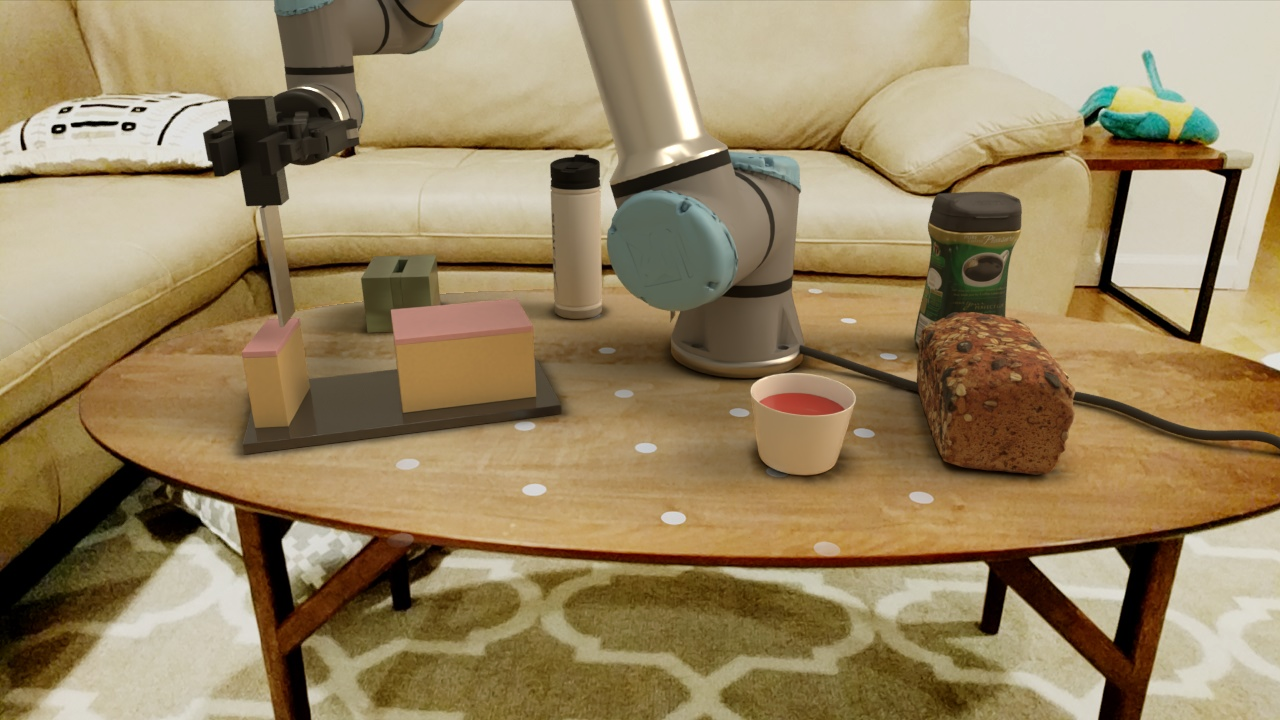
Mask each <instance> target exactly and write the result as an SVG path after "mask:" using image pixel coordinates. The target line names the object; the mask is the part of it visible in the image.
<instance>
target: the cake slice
mask: <svg viewBox="0 0 1280 720" xmlns="http://www.w3.org/2000/svg"><path fill="white" fill-rule="evenodd" d="M304 344H305V343H304V338H303V331H302V325H301V319H300V317H291V318H290V319H289V321H288V322H287V323H286V325H285V326H284V327H280V326H279V320H278V318H268V319H267V320H266V321H265V322H264V324H262V326H261V327H260V329H258V331H257V332H256V333H255V334H254V336H253V337H252V338H251V340H250V341H249V342H248V343H247V344H246V345H245V347H244V348H243V349H242V351H241V357H242V363H243V369H244V374H245V380H246V386H247V391H248V397H249V403H250V407H251V409H252V413H253V419H254V424H255V428H266V427H285V426H289V425H290V423H291V421H292V419H293V417H294V416H295V414H296V412H297V410H298V408H299V407H300V405H301V403H302V401H303V399H304V398H305V396H306V394H307V392H308V390H309V389H310V383H309V379H310V377H309V370H308V364H307V358H306V352H305V345H304Z"/></svg>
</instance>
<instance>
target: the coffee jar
mask: <svg viewBox="0 0 1280 720" xmlns="http://www.w3.org/2000/svg"><path fill="white" fill-rule="evenodd" d="M1022 208H1023V207H1022V203H1021V200H1020V198H1018V197H1017V196H1014V195H1012V194H1009V193H1006V192H1003V191H963V192H960V191H959V192H944V193H937V194H936V195H935V197H934V199H933V201H932V205H931V211H930V214H929V218H928V222H927V231H928V235H929V238H930V244H931V245H930V256H929V265H928V270H927V275H926V280H925V284H924V289H923V292H922V298H921V301H920V306H919V310H918V314H917V317H916V318H917V319H916V324H915V327H914V328H915V329H914V335H913V337H914V341H915V344H916V345H917V346H918V344H919V339H920V335H921V332H922V329H924V328H925V326H927V325H929V324H930V323H931V322H936V321H938V320H940V319H942V318H945V317H946V316H947V315H949V314H951V313H954V312H957V313H964V312H966V313H970V312H974V313H981V314H993V315H998V316H1002V317H1006V307H1007V305H1006V304H1007V292H1008V291H1007V290H1008V279H1009V267H1010V263H1011V257H1012V252H1013V251H1014V247H1015V246H1016V244H1017V242H1018V240H1019V238H1020V235H1021V232H1022V215H1023V209H1022Z"/></svg>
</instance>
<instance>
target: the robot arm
mask: <svg viewBox="0 0 1280 720" xmlns="http://www.w3.org/2000/svg"><path fill="white" fill-rule="evenodd" d="M464 1H465V0H273V4H274V6H273V8H274V9H273V12H274V13H275V18H276V22H277V23H276V24H277V28H278V33H279V40H280V45H281V46H280V47H281V52H282V57H283V64H284V67H283V68H284V77H285V84H286V91H282V92H279V93H277V94H276V95H273V99H274V105H275V111H276V118H277V124H278V130H279V132H276V133H274V134H272V135H270V136H268V137H266V138H264V139H262V140H260V141H258V142H257V147H258V153H259V159H260V165H261V171H262V176H270V175H273V174H275V173H276V172H278V171H279V170H281V169H282V168H285V167H287V166H288V165H295V166H311V165H312V166H313V165H316V164H318V163H321V162H322V161H325V160H327V159H330V158H332V157H334V156H336V155H337V154H339V153H341V152H344V151H345V150H346V149H348V148H354V147H355V148H356V147H358V146H360V145H361V142H360V134H359V133H360V130H361V128H362V125H363V123H364V119H365V106H364V102H363V99H362V97H361V96H360V94H359V92H357V84H356V77H355V65H354V57H358V56H376V55H380V56H381V55H398V54H399V55H414V54H417V53H419V52H420V53H421V52H426V51H428V50H430V49H432V48H433V47H435V46H436V45H437V44H438V43H439V41H440V37H441V34H442V33H443V29H444V20H445V19H446V18H447V17H448V16H449V15H450V14H451V13H452V12H454V11H455V10H456V9H457V8H458V7H459V6H460V5H461V4H463V2H464ZM570 1H571V5H572V8H573V11H574V14H575V19H576V20H577V21H576V22H577V24H578V28H579V31H580V34H581V35H580V36H581V37H582V41H583V44H584V48H585V51H586V54H587V58H588V60H589V64H590V68H591V70H592V74H593V77H594V80H595V84H596V87H597V91H598V94H599V98H600V101H601V104H602V107H603V112H604V113H605V117H606V121H607V124H608V128H609V132H610V134H611V137H612V140H613V144H614V148H615V151H616V154H617V158H618V159H617V160H618V161H617V165H616V166H615V169H614V171H613V173H612V175H611V177H610V179H609V182H608V183H609V186H610V188H611V192H612V196H613V201H614V203H615V207H616V211H615V212H614V214H613V216H612V218H611V223H610V224H611V225H610V227H609V228H608V229H607V234H606V250H607V255H608V259H609V262H610V266H611V267H612V269H613V272H614V274H615V276H616V277H617V278H618V281H620V283H621V284H622V286H623V287H624V288H625V289H626V290H627V291H628V292H629V293H630V294H631V295H632V296H634V297H635V298H636V299H639V300H641V301H642V302H644V303H645V304H647V305H648V306H650V307H652V308H655V309H658V310H661V311H665V312H666V311H667V312H670V313H669V314H670V315H669V316H670V320H669V323H672V321H673V319H675V316H676V312H679V313H678V316H677V318H676V321H675V324H674V327H673V330H672V332H671V336H670V353H671V356H672V358H673V359H674V360H675V361H676V362H677V363H679V364H680V365H683V366H684V367H686V368H687V369H690V370H693V371H696V372H699V373H702V374H705V375H709V376H715V377H722V378H723V377H724V378H735V379H754V378H764V377H767V376H771V375H776V374H784V373H788V372H789V371H791V370H793V369H795V368H796V367H798V366H800V364H801V363H802V362H803V359H804V356H806V357H810V358H813V359H816V360H820V361H823V362H825V363H828V364H832V365H833V366H838V367H841V368H844V369H846V370H849V371H852V372H855V373H858V374H861V375H864V376H866V377H870V378H873V379H876V380H878V381H879V380H880V381H883V382H886V383H888V384H890V385H894V386H897V387H900V388H903V389H906V390H908V391H909V390H910V391H913V392H916V393H919V390H918V383H917V381H913V380H910V379H907V378H904V377H900V376H897V375H895V374H892V373H889V372H885V371H882V370H880V369H876V368H873V367H870V366H867V365H864V364H860V363H858V362H854V361H852V360H850V359H846V358H844V357H841V356H838V355H834V354H832V353H828V352H825V351H822V350H819V349H815V348H811V347H809V346H806V345H805V338H804V335H803V331H802V328H801V323H800V320H799V316H798V312H797V308H796V303H795V300H794V296H793V279H794V278H793V277H794V266H795V253H796V242H797V241H796V240H797V228H798V215H799V203H800V194H801V193H802V186H801V168H800V165H799V162H798V161H797V160H796V159H794V158H793V157H791V156H786V155H777V154H767V153H755V152H742V151H729V147H728V145H727V144H725V143H724V142H722V141H720V140H719V139H717V138H715V137H713V136H712V135H710V134H709V132H708V131H707V130H706V127H705V123H704V119H703V115H702V112H701V109H700V105H699V101H698V98H697V94H696V90H695V86H694V84H693V80H692V76H691V73H690V69H689V65H688V62H687V57H686V54H685V51H684V47H683V44H682V40H681V36H680V33H679V30H678V29H679V28H678V26H677V25H678V24H677V22H676V18H675V14H674V11H673V7H672V4H671V0H570ZM202 135H203V136H202V137H203V141H204V142H203V143H204V149H205V152H206V157H207V158H206V159H207V162H210V163H211V165H212V170H213V175H214V176H213V177H214V178H219V177H220V178H222V177H223V178H224V177H227V176H228V175H230V174H232V173H234V172H235V171H240V168H239V162H238V157H237V151H236V145H235V139H234V134H233V129H232V123H231V120H228V119H221V120H219V121H217V125H215V126H213V127H212V128H209V129H207V130H206V131H203V132H202ZM1073 401H1074V402H1080V403H1085V404H1089V405H1094V406H1099V407H1102V408H1106V409H1109V410H1111V411H1112V410H1113V411H1116V412H1119V413H1120V414H1124V415H1126V416H1129V417H1130V418H1134V419H1136V420H1138V421H1141V422H1143V423H1145V424H1147V425H1149V426H1153V427H1154V428H1157V429H1160V430H1162V431H1166V432H1168V433H1171V434H1174V435H1177V436H1181V437H1185V438H1189V439H1193V440H1194V439H1195V440H1199V441H1212V442H1213V441H1214V442H1231V441H1233V442H1234V441H1235V442H1237V441H1239V442H1240V441H1244V442H1245V441H1247V442H1249V441H1250V442H1258V443H1259V442H1260V443H1265V444H1268V445H1271V446H1273V447H1275V448H1277V449H1278V450H1280V436H1278V435H1276V434H1274V433H1270V432H1266V431H1260V430H1249V429H1248V430H1247V429H1232V430H1227V429H1226V430H1213V429H1211V430H1210V429H1200V428H1199V429H1198V428H1193V427H1189V426H1186V425H1182V424H1179V423H1175V422H1173V421H1169V420H1166V419H1164V418H1161V417H1158V416H1156V415H1154V414H1151V413H1149V412H1147V411H1144V410H1142V409H1140V408H1137V407H1134V406H1132V405H1130V404H1127V403H1124V402H1121V401H1118V400H1115V399H1111V398H1107V397H1104V396H1099V395H1096V394H1091V393H1086V392H1081V391H1076V392H1075V395H1074V398H1073Z"/></svg>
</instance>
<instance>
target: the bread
mask: <svg viewBox="0 0 1280 720" xmlns="http://www.w3.org/2000/svg"><path fill="white" fill-rule="evenodd" d="M917 347H918V356H917V358H916V382H917V383H918V390H919V392H918V394H919V397H920V400H921V404H922V407H923V412H924V415H925V416H926V420H927V422H928V425H929V430H930V431H931V432H932V438H933V440H934V443H935V447H936V448H937V451H938V454H939V455H940V456H941V458H942V461H943V462H946V463H949V464H951V465H954V466H958V467H962V468H965V469H974V470H975V469H976V470H982V471H983V470H984V471H999V472H1007V473H1016V474H1017V473H1018V474H1019V473H1020V474H1027V475H1036V476H1037V475H1044V474H1049V473H1051V472H1052V471H1053V470H1054V469H1055V468H1056V467H1057V465H1058V463H1060V456H1061V454H1062V453H1064V452H1065V451H1066V442H1067V440H1068V439H1069V431H1070V429H1071V427H1072V425H1073V423H1074V418H1075V409H1074V405H1073V404H1074V403H1075V401H1074V400H1073V398H1074V395H1075V392H1077V390H1076V387H1075V386H1074V385H1073V384H1072V383H1071V382H1070V380H1069V378H1070V376H1069V374H1068V373H1067V372H1065V371H1064V370H1063V367H1062V365H1061V364H1060V363H1058V361H1057V360H1056V358H1055V357H1053V356H1052V353H1050V352H1049V351H1048V350H1047V349H1046V348H1045V347H1044V346H1043V345H1042V343H1041V342H1040V341H1039V339H1038V338H1037V336H1036V333H1033V331H1032V330H1031V328H1030V327H1029V326H1028V325H1027V324H1025V323H1024V322H1022V321H1020V320H1019V319H1017V318H1013V317H1006V316H1005V317H1002V316H998V315H993V314H981V313H974V312H970V313H966V312H964V313H957V312H954V313H951V314H949V315H947V316H946V317H945V318H942V319H940V320H938V321H936V322H931V323H930V324H929V325H927V326H925V328H924V329H922V332H921V335H920V339H919V344H918V345H917Z"/></svg>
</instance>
